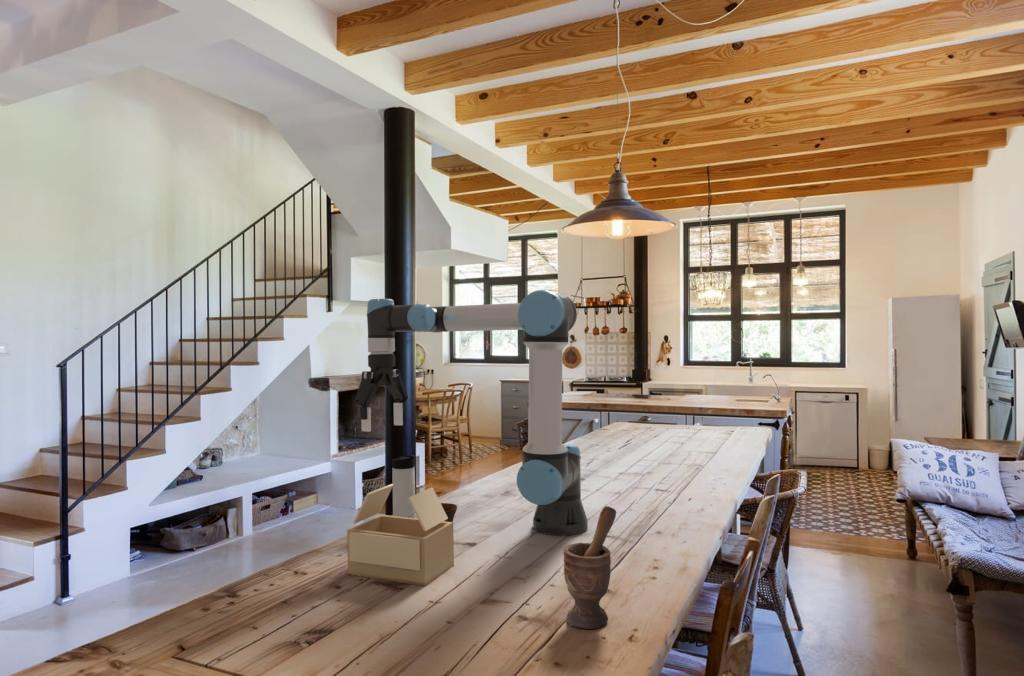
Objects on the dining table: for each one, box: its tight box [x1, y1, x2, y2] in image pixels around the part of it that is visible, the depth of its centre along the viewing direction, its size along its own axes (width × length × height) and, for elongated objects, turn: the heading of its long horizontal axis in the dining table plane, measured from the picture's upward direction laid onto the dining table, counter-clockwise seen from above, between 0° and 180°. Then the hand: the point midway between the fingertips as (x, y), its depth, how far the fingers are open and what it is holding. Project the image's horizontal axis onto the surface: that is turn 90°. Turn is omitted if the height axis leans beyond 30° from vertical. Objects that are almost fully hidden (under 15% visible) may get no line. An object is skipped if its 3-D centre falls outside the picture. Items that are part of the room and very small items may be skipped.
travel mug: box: [391, 454, 416, 518], centre depth 177 cm, size 6×7×20 cm
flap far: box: [352, 483, 393, 525], centre depth 146 cm, size 10×1×8 cm, turn 158°
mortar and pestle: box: [562, 505, 617, 630], centre depth 117 cm, size 12×9×20 cm
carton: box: [346, 514, 455, 587], centre depth 143 cm, size 20×14×10 cm
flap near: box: [408, 486, 448, 532], centre depth 140 cm, size 10×1×8 cm
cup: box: [440, 502, 458, 523], centre depth 162 cm, size 9×9×10 cm
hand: (382, 428), depth 177 cm, fingers open, 13 cm apart
